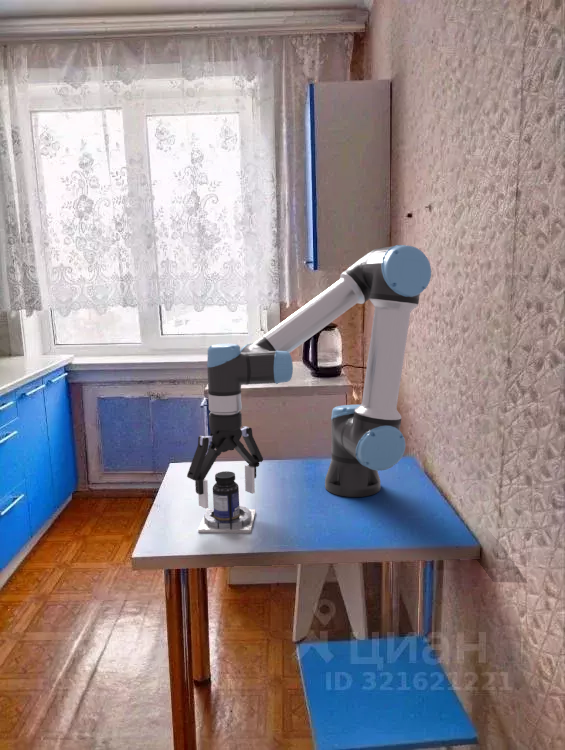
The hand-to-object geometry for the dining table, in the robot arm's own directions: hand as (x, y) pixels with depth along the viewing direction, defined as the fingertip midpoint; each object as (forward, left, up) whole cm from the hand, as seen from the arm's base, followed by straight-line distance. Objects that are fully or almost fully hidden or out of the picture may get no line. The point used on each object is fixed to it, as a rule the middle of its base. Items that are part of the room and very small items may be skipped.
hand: (227, 499), depth 140 cm
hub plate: (0, 0, -6) cm, 6 cm away
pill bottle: (0, 0, -5) cm, 5 cm away
